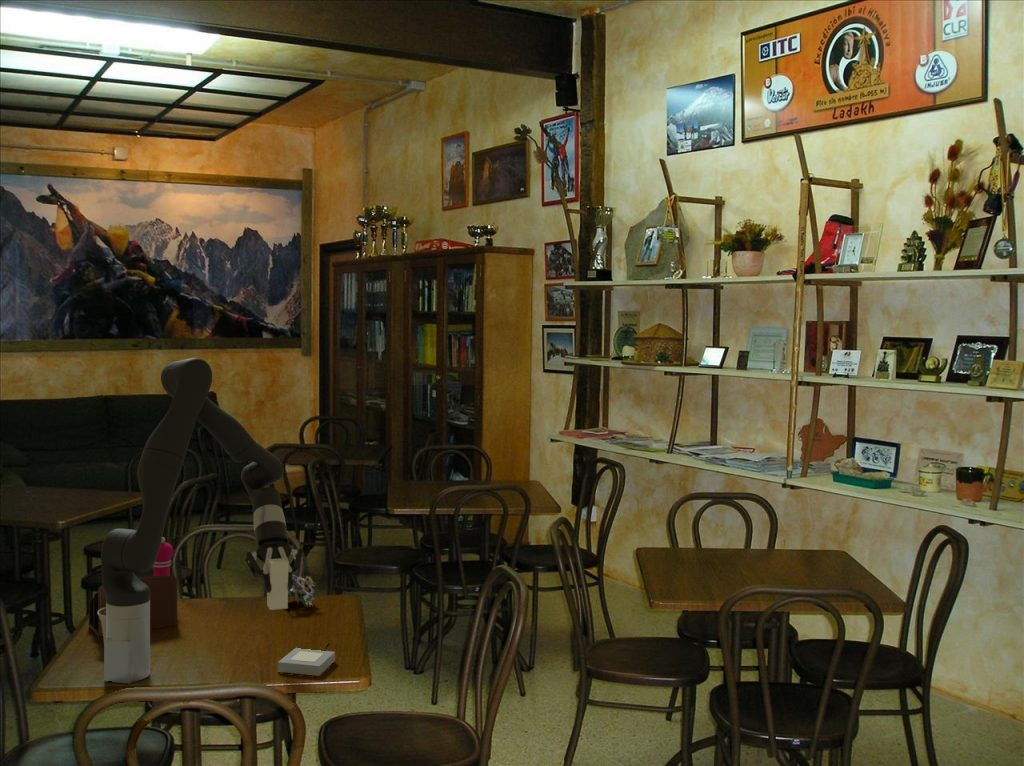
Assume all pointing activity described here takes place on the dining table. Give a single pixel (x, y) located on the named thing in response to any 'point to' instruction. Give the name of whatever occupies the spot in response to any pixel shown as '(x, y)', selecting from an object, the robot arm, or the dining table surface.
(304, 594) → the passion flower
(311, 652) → the slab
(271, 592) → the pillar
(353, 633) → the dining table surface
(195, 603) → the dining table surface
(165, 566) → the pepper mill
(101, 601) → the letter holder
